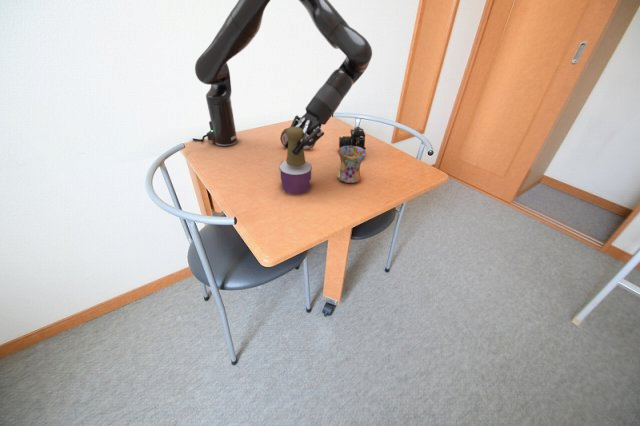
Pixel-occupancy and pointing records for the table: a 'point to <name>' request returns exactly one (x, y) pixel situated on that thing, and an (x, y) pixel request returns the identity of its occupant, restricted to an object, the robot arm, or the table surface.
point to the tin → (284, 139)
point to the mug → (350, 163)
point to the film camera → (353, 139)
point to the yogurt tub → (295, 177)
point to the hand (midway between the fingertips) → (290, 150)
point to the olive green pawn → (294, 136)
